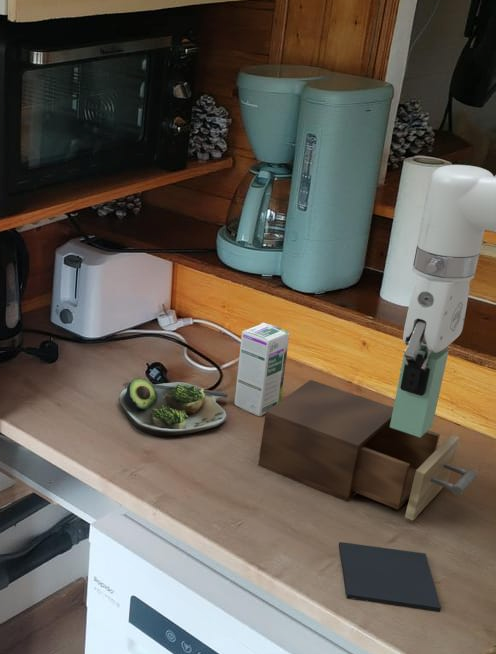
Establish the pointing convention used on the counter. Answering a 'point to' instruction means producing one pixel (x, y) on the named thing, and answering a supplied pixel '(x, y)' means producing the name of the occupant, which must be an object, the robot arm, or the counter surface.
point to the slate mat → (388, 576)
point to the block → (419, 399)
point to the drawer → (407, 469)
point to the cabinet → (320, 436)
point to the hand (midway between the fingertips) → (419, 384)
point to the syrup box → (261, 368)
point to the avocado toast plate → (171, 407)
